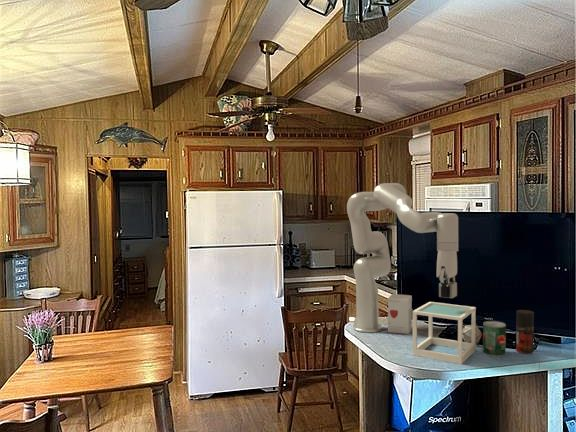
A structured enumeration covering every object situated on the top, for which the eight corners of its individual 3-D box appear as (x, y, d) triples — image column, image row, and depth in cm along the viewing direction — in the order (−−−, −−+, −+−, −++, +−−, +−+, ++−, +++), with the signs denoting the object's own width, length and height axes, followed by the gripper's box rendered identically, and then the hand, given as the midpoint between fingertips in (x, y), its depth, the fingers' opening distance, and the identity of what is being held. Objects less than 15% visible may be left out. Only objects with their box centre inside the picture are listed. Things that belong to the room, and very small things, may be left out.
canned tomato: (507, 357, 185) (507, 327, 185) (483, 355, 187) (484, 326, 187) (504, 350, 193) (504, 321, 192) (481, 348, 195) (482, 320, 194)
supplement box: (387, 332, 219) (387, 297, 218) (391, 327, 227) (391, 293, 226) (408, 334, 215) (408, 299, 214) (412, 328, 224) (412, 294, 223)
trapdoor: (418, 313, 189) (418, 311, 189) (431, 305, 201) (431, 303, 201) (457, 320, 181) (457, 317, 181) (469, 311, 192) (469, 309, 192)
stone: (439, 296, 189) (438, 283, 189) (443, 294, 193) (443, 281, 193) (452, 298, 186) (452, 284, 186) (456, 295, 190) (456, 282, 190)
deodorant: (512, 350, 193) (512, 310, 192) (524, 347, 195) (524, 309, 194) (525, 354, 188) (525, 314, 187) (537, 352, 190) (537, 312, 189)
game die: (473, 352, 203) (484, 330, 205) (478, 351, 194) (490, 328, 196) (452, 339, 205) (464, 318, 207) (457, 338, 197) (469, 316, 199)
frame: (412, 355, 189) (412, 311, 188) (429, 342, 204) (429, 301, 203) (461, 364, 179) (461, 317, 178) (475, 350, 193) (475, 307, 192)
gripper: (445, 244, 198) (445, 290, 199) (429, 248, 184) (429, 298, 185) (464, 244, 193) (465, 292, 194) (450, 249, 179) (450, 301, 180)
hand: (448, 295), depth 190 cm, fingers closed on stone, 5 cm apart
